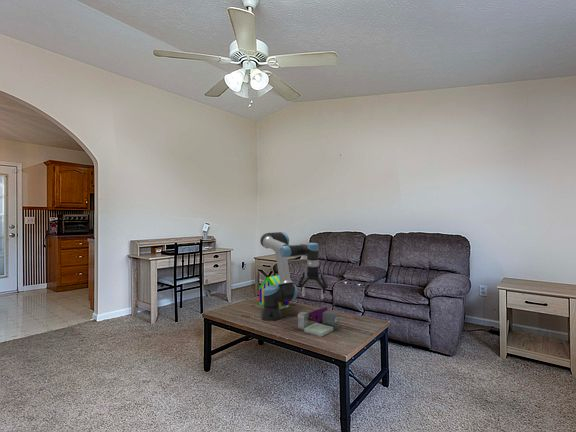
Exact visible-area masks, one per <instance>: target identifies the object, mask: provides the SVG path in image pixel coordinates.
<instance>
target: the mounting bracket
mask: <svg viewBox="0 0 576 432" xmlns="http://www.w3.org/2000/svg"><path fill="white" fill-rule="evenodd" d="M325 311H329V309H328V307H327V306H326V307H322V308H319V309H316V310H313V311H310V312H307V313H308V314H309V317H312V319H313V321H314V323H319V324H320V323H322V322H323V312H325Z"/></svg>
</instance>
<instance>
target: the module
mask: <svg viewBox="0 0 576 432" xmlns="http://www.w3.org/2000/svg"><path fill="white" fill-rule="evenodd" d="M308 313H309V312H305V311H301V312H298V313H297V328H298V329H300V330H303V331H304V328H306V327H308V326H309V317H310V316H309V314H308Z"/></svg>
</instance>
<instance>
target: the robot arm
mask: <svg viewBox="0 0 576 432" xmlns="http://www.w3.org/2000/svg"><path fill="white" fill-rule="evenodd" d="M289 244H290V238H289V235H288V234H287V233H286V232H283V231H282V232H281V231H279V232H276V231H275V232H266V233H264V234H263V235H261V237H260V246H262V247H263V248H265V249H271V250H272V251H273V252H275V253H274V255H275V260H276V265H277V266H276V267H277V272H278V275H279V280H280V283H279V284H278V285H270V286H267V287H265V288H264V291H263V300H264V306H263V309H262V312H261V315H260V316H261V318H260V319H262V320H263V321H268V322H269V321H271V322H272V321H278V320H281V319H282V316H283V315H282V312H281V309H280V308H279V303H280V302H286V301H289V302H291V301H294V300H296V299H297V298H298V297H297V296H298V287H297V285H298V286H299V287H300V292H301V297H302V298H304V297H305V296H306V295H305V290H306V288H305V285H306V283H308V281H309V280H310V281H316V282H317V284H318V285H319V286H320V287H321V296H320V297H321V300H323V299H324V297H325V296H324V295H325V293H326V289H328V287H329V286H328V284H327V282H326V279H325V277H324V274H323V273H320V272H319V270H320V269H319V263H320V261H319V255H320V248H319V243H318V242H309V243H307V244H304V243H300V244H296V245H291V244H290V245H289ZM302 256H303V257H304V256H305V257H307V261H306V262H307V263H306V264H307V269H306V271H307V272H306V271H305V272H302V277H301V278H300V281H299V282H298V284H297V285H295V284H294V282H293V280H292V279H291V274H290V268H289V262H288V261H289V260H288V258H290V257H291V258H292V257H302ZM306 276H307V277H306ZM305 277H306V279H305ZM319 277H320V278H319Z"/></svg>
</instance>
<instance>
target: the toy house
mask: <svg viewBox="0 0 576 432" xmlns="http://www.w3.org/2000/svg"><path fill="white" fill-rule="evenodd" d="M279 283H280V280H279V274H278V275H273V276H268V277H266V279H264V281H263V282H262V283H261V285H259V287H258V304H259V305H261V306H263V307H264V300H263V291H264V288H265V287H267V286H270V285H278V284H279ZM289 307H291V306H290V301H286V302H280V303H279V308H280V310H282V309H286V308H287V309H288V308H289Z"/></svg>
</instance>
